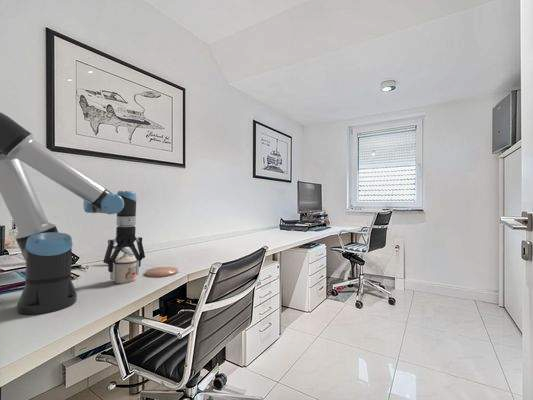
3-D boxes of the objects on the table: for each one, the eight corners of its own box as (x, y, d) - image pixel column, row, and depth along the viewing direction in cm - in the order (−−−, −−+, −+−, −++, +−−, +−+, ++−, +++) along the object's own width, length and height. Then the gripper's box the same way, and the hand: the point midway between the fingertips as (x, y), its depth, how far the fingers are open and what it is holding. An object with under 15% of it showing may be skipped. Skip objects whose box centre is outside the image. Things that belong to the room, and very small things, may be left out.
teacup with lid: (128, 284, 110) (128, 256, 111) (108, 283, 111) (108, 255, 112) (144, 276, 122) (145, 251, 123) (126, 275, 123) (126, 250, 124)
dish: (155, 279, 118) (155, 276, 119) (139, 273, 128) (139, 270, 128) (184, 272, 130) (184, 270, 130) (167, 267, 140) (167, 265, 140)
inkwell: (136, 265, 143) (137, 247, 143) (102, 265, 142) (102, 247, 142) (143, 262, 152) (144, 244, 152) (111, 262, 151) (111, 244, 151)
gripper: (102, 228, 105) (100, 284, 105) (154, 225, 123) (153, 273, 122) (94, 226, 110) (93, 280, 110) (146, 224, 127) (144, 270, 127)
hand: (124, 276), depth 116 cm, fingers closed on teacup with lid, 9 cm apart
